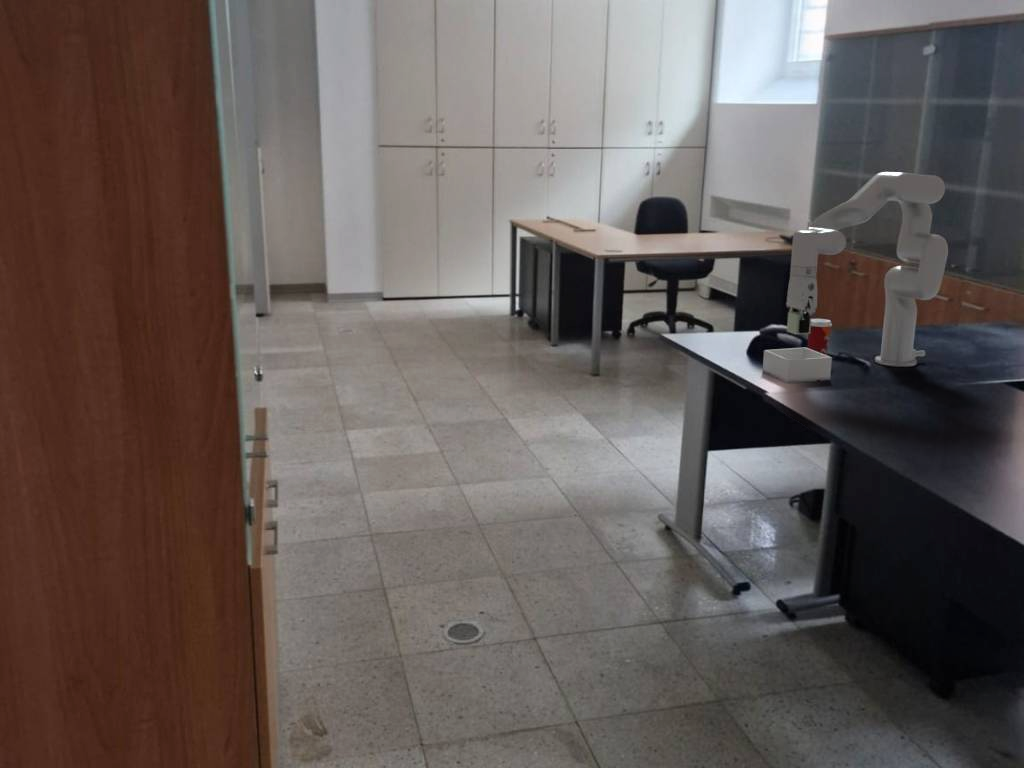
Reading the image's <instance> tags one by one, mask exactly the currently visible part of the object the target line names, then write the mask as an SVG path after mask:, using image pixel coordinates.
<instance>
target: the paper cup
mask: <svg viewBox="0 0 1024 768" xmlns="http://www.w3.org/2000/svg"><path fill="white" fill-rule="evenodd" d="M832 326H833V324H832V321H831V320H830V319H825V318H811V329H810V334H807V348H809V349H811V350H814V351H816V352H819V353H822V354H824V355H827V356H828V348H829V342H830V334H831V328H832Z"/></svg>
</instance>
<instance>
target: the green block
mask: <svg viewBox="0 0 1024 768" xmlns="http://www.w3.org/2000/svg"><path fill="white" fill-rule="evenodd" d="M805 314H806V312H804V315H805ZM800 320H801V312H800V311H799V312H789V311H788V312H787V324H786V325H787V326H786V332H788V333H790V334H793V335H808V334H810V329H811V320H810V325H809V332H808V333H799V321H800Z"/></svg>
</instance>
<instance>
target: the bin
mask: <svg viewBox="0 0 1024 768" xmlns="http://www.w3.org/2000/svg"><path fill="white" fill-rule="evenodd" d="M762 362H763V364H762V372H763V373H764V374H767V375H769V376H771V377H773V378H775V379H778V380H780V381H782V382H784V383H785V384H791V383H793V384H794V383H795V384H796V383H805V382H806V381H807V382H817V380H820V381H830V380H831V372H832V362H833V358H832V357H831V356H830V355H828V354H827V355H824V354H822V353H819V352H816V351H814V350H811V349H809V348H808V347H806V346H805V347H791V348H789V347H788V348H778V349H777V348H776V349H774V348H773V349H765V350H763V361H762Z"/></svg>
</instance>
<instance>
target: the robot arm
mask: <svg viewBox="0 0 1024 768" xmlns="http://www.w3.org/2000/svg"><path fill="white" fill-rule="evenodd" d="M945 192H946V184H945V182H944V180H943V179H942V178H941V177H940V176H938V175H932V174H929V175H928V174H918V173H911V172H902V171H901V172H900V171H897V172H896V171H882V172H879V173H876V174H875V175H874V176H873V177H871V178H870V179H869V180H868V181H867V182H866V183H865V184H864V185H863V186H861V188H860V189H859V190H858V191H857V192H856V193H854V195H853V196H852V197H851V198H849V199H848V200H846V201H845V202H842V203H840V204H839V205H837V206H835V207H833V208H831V209H829V210H827V211H825V212H823V213H822V214H820V215H819V216H818V217H816V218H815V219H814V220H813V221H812V222H811V223H810V224H809V225H808V226H807V227H806V228H805V229H800V230H799V229H798V230H796V231H795V232H794V233H793V237H792V246H791V247H792V248H791V257H790V258H791V259H790V269H789V270H790V272H789V281H788V288H787V294H786V303H785V305H786V308H787V311H788V312H801V320H800V321H799V333H808V332H809V325H810V320H811V319H812V318H813V316H814V314H815V313H816V310H817V307H818V280H817V271H818V270H817V269H818V268H817V267H818V256H819V254H820V255H828V256H832V255H833V256H834V255H838V254H839V253H841V252H842V251H844V249H845V248H846V245H847V238H846V236H845V235H844V233H843V232H842V231H839V230H841V229H844V228H847V227H853V226H857V225H861V224H863V223H866V222H868V221H869V220H870V219H872V217H874V215H875V214H876V213H877V212H878V211H880V210H881V208H883V207H884V206H885V205H886V204H887V203H888V202H891V201H893V202H897V203H898V204H899V205H900V209H901V211H902V220H901V221H902V222H901V226H900V230H899V231H900V232H899V235H898V241H897V245H896V256H897V258H899V259H900V260H901V261H903V262H908V263H912V264H919V265H918V266H919V267H915V266H909V265H897V266H893V267H892V268H890V269H889V270H888V271H887V272H886V274H885V276H884V279H883V280H884V284H883V286H884V292H885V293H884V294H885V304H884V305H885V306H884V307H885V308H884V318H883V327H882V337H881V348H880V355H877V356H875V357H874V361H875V363H877V364H880V365H884V366H886V367H887V366H889V367H897V368H899V367H900V368H901V367H903V368H905V367H906V368H908V367H913V366H916V365H917V362H918V361H917V360H916V358H917V357H925V356H926V351H925V350H924V349H922V350H917V349H914V342H915V333H916V323H917V318H918V317H917V316H918V315H917V314H918V306H917V303H916V300H921V301H928V300H932V299H933V298H934V297H936V295H938V293H939V291H940V289H941V286H942V281H943V277H944V273H945V268H946V264H947V262H948V261H947V260H948V256H949V246H948V242H947V240H946V239H945V237H943V236H941V235H939V234H935V233H931V228H932V222H933V221H932V220H933V212H932V209H931V206H930V205H933V204H936V203H937V202H939V201H940V200H941V199H942V198H943V197H944V194H945ZM804 312H806V314H805V315H804Z"/></svg>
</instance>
